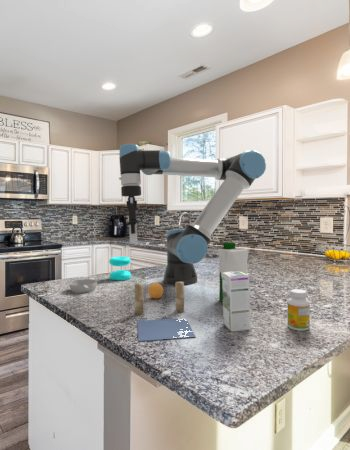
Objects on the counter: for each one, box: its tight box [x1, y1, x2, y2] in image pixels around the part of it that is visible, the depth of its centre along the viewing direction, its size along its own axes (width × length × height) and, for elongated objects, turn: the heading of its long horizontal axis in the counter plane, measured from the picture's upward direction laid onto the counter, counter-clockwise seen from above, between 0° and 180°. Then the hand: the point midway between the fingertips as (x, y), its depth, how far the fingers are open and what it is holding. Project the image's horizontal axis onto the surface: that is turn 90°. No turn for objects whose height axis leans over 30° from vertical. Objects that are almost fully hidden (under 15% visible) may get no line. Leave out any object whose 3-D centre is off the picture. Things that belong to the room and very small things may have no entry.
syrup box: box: [222, 271, 251, 332], centre depth 82 cm, size 6×6×14 cm
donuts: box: [108, 256, 132, 281], centre depth 146 cm, size 10×10×10 cm
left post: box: [134, 282, 145, 316], centre depth 95 cm, size 3×3×9 cm
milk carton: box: [217, 241, 250, 303], centre depth 106 cm, size 9×9×20 cm
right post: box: [174, 282, 185, 313], centre depth 97 cm, size 3×3×9 cm
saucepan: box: [68, 278, 98, 294], centre depth 122 cm, size 11×18×4 cm, turn 23°
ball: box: [147, 282, 164, 299], centre depth 112 cm, size 6×6×6 cm
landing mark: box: [137, 318, 197, 343], centre depth 82 cm, size 14×14×1 cm
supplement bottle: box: [287, 288, 311, 332], centre depth 82 cm, size 5×5×10 cm
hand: (133, 240), depth 120 cm, fingers open, 13 cm apart
